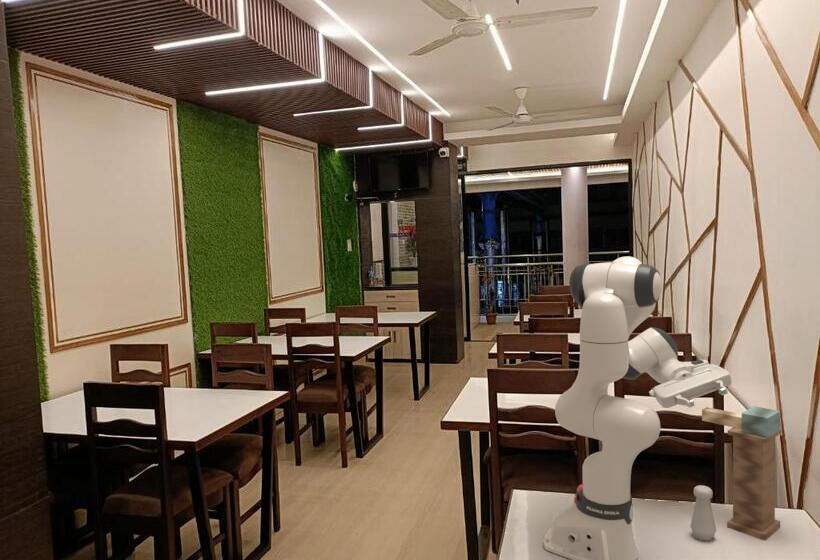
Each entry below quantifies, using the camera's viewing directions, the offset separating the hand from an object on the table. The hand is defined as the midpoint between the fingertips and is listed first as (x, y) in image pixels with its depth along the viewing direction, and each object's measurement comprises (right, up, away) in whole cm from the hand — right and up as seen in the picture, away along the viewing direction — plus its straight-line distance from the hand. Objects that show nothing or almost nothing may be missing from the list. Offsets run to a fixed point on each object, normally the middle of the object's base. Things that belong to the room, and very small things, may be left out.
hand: (708, 398), depth 153 cm
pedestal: (+11, -33, -1) cm, 35 cm away
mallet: (+8, -7, 0) cm, 10 cm away
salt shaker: (-4, -35, -5) cm, 35 cm away
